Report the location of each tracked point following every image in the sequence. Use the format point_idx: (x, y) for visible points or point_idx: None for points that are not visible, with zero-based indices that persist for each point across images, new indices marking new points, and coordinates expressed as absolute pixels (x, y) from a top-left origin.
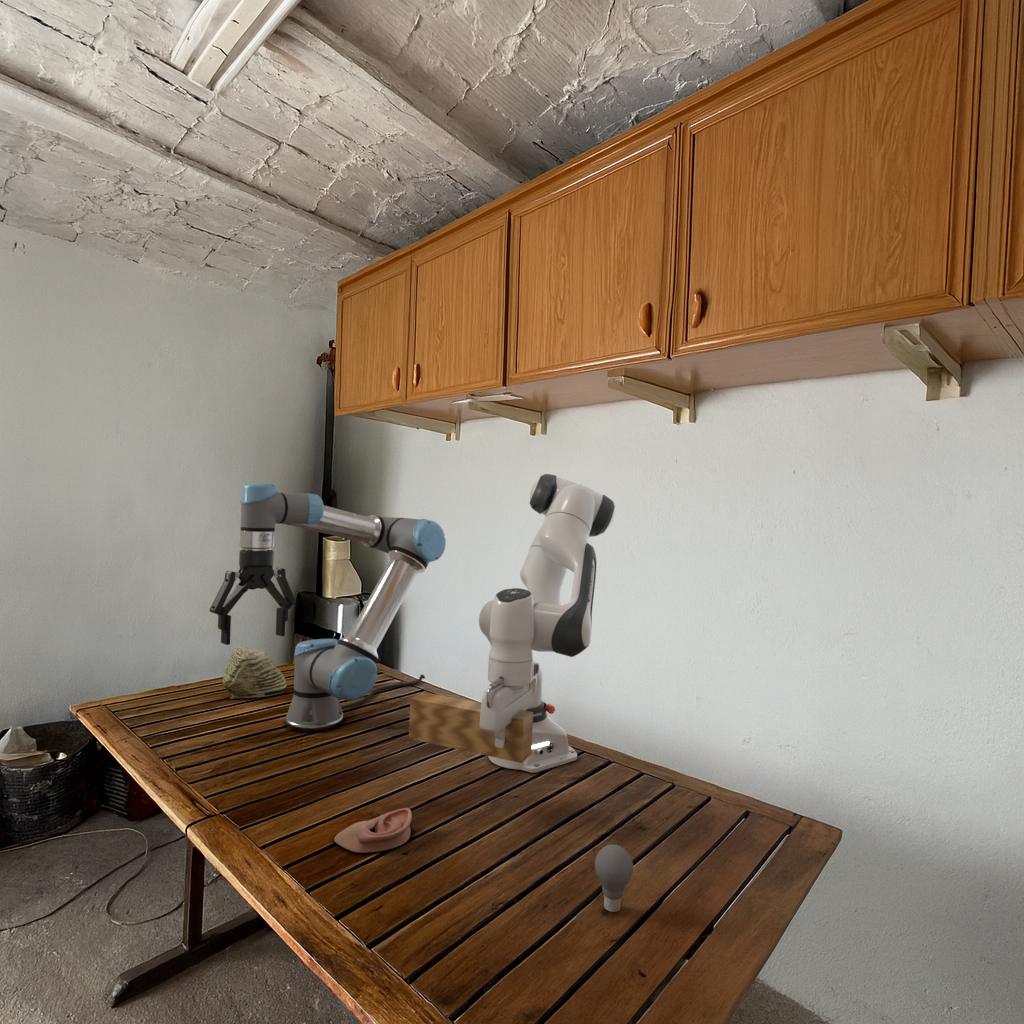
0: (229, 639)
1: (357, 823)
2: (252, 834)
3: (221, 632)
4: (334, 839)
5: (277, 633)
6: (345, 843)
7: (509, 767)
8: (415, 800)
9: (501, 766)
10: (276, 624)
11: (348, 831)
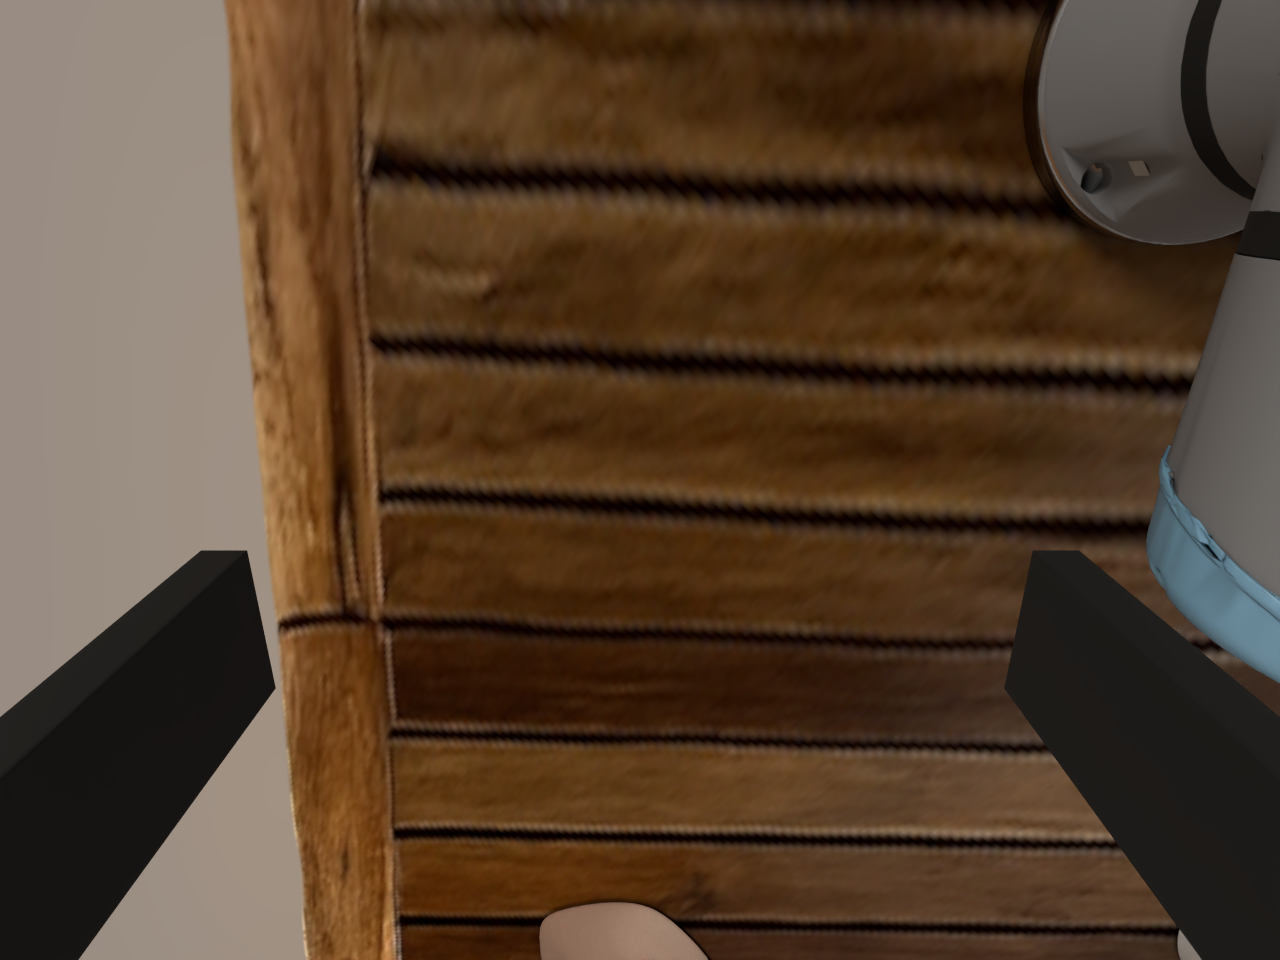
0: (235, 729)
1: (614, 934)
2: (405, 773)
3: (108, 636)
4: (543, 922)
5: (1034, 605)
6: (546, 957)
7: (1180, 955)
8: (835, 903)
9: (1178, 934)
10: (1122, 643)
11: (569, 952)
